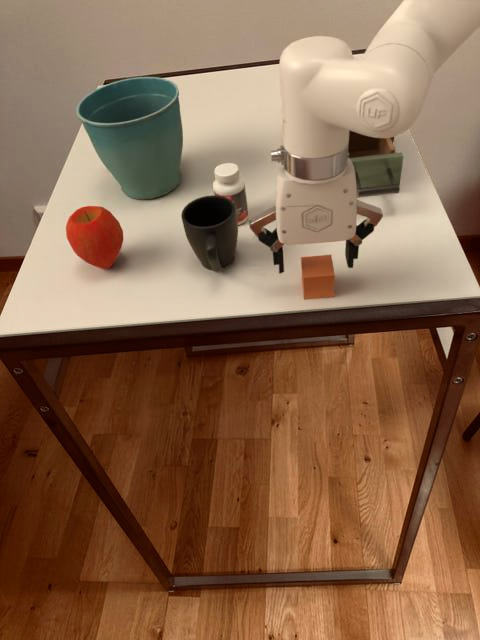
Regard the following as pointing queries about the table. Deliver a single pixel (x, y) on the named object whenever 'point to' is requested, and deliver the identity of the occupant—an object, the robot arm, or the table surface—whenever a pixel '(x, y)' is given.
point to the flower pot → (137, 133)
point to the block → (317, 276)
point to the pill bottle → (232, 188)
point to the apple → (95, 235)
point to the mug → (212, 230)
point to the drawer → (375, 165)
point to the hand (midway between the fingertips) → (314, 264)
